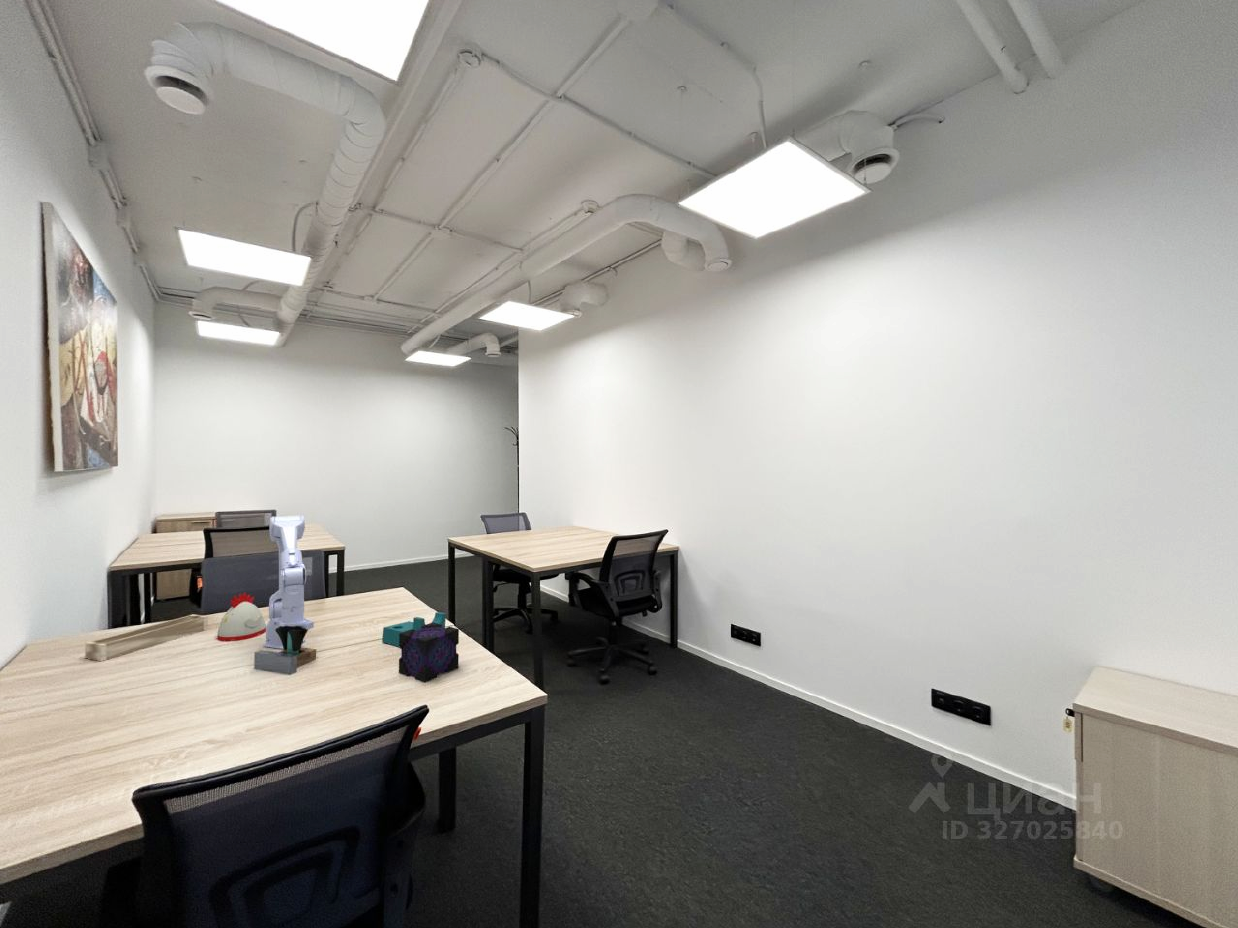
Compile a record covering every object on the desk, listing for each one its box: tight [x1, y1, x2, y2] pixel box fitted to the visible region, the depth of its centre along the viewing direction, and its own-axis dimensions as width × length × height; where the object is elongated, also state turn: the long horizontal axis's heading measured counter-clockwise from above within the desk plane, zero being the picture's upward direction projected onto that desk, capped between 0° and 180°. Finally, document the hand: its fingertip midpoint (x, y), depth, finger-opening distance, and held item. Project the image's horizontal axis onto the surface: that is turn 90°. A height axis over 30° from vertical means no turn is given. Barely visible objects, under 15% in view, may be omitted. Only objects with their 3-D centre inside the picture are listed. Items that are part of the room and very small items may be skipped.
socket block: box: [278, 646, 317, 668], centre depth 150 cm, size 9×9×3 cm
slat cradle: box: [84, 614, 209, 662], centre depth 166 cm, size 7×30×5 cm, turn 165°
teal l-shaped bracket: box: [381, 611, 447, 647], centre depth 169 cm, size 18×11×10 cm, turn 63°
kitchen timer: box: [216, 592, 267, 643], centre depth 174 cm, size 14×14×15 cm
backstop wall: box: [253, 649, 298, 675], centre depth 145 cm, size 14×2×5 cm, turn 75°
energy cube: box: [398, 621, 460, 684], centre depth 146 cm, size 12×12×12 cm
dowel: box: [287, 632, 299, 655], centre depth 150 cm, size 3×3×8 cm
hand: (292, 649), depth 150 cm, fingers closed on dowel, 3 cm apart
